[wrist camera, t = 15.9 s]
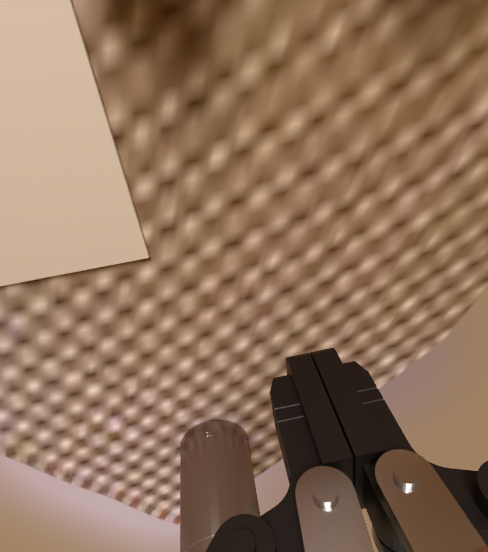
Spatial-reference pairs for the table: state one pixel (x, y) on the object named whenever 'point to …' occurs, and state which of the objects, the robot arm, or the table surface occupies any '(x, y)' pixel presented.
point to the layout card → (57, 152)
